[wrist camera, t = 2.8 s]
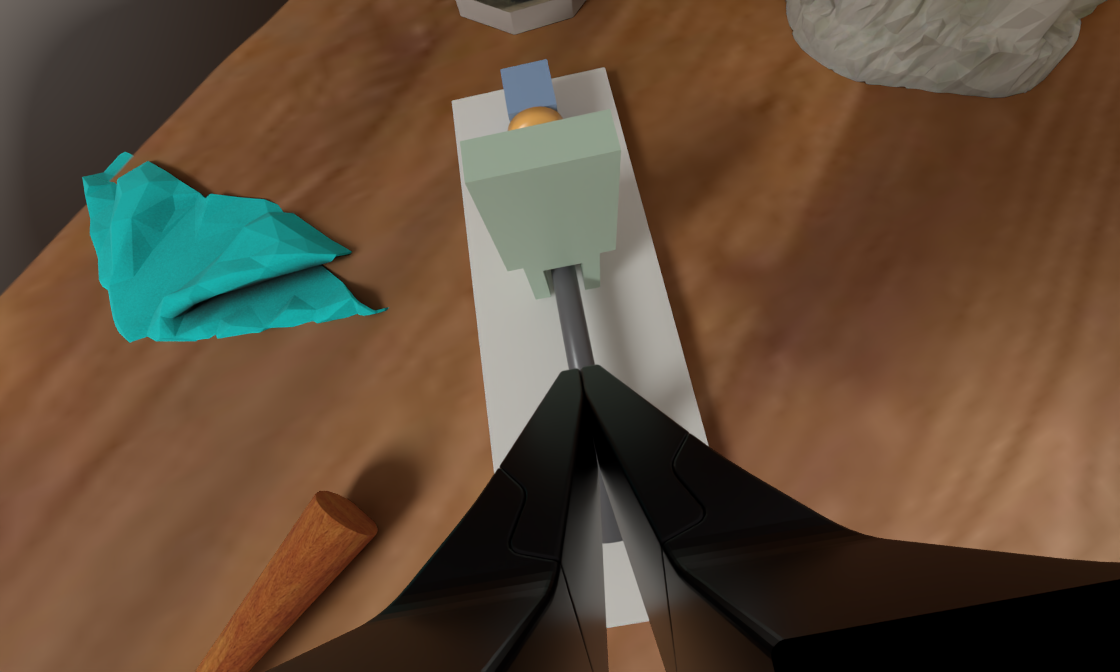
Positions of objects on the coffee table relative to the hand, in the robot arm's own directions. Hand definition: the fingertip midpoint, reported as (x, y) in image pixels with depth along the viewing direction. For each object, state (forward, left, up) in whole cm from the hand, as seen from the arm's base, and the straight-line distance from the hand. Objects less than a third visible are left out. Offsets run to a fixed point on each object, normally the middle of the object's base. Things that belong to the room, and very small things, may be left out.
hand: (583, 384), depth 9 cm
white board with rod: (+4, -5, -12) cm, 14 cm away
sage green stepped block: (+6, -7, -11) cm, 14 cm away
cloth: (+27, +2, -13) cm, 30 cm away
